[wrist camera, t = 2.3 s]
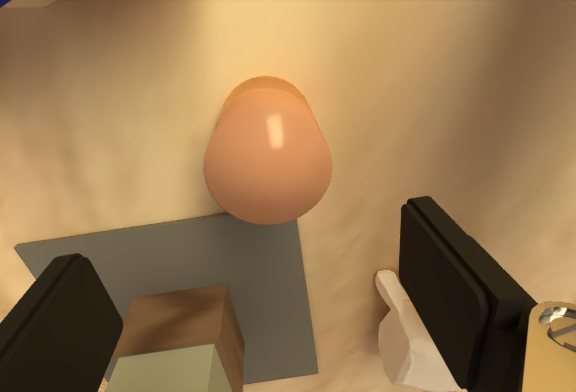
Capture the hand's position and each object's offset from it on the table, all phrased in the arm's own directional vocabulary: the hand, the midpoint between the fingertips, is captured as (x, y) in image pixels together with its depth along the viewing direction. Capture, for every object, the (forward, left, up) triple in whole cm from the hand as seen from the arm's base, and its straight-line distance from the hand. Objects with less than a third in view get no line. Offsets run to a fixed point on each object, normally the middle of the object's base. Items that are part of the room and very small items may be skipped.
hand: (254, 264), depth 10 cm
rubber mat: (+8, +16, -12) cm, 22 cm away
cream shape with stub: (-11, +16, -13) cm, 24 cm away
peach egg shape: (-1, 0, -12) cm, 12 cm away
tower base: (+8, +16, -12) cm, 21 cm away
